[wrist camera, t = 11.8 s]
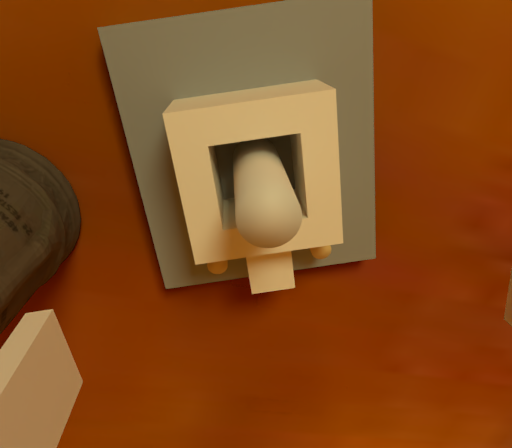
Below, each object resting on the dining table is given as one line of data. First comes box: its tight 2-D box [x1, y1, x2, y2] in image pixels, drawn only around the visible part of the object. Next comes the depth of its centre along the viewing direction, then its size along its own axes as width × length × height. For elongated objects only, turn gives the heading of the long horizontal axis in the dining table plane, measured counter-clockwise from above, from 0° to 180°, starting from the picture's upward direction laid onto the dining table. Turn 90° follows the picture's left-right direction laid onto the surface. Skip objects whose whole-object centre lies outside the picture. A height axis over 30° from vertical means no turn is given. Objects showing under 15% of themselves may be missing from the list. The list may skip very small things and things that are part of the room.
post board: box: [98, 0, 376, 289], centre depth 24 cm, size 18×16×12 cm
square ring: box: [162, 79, 343, 294], centre depth 27 cm, size 13×9×5 cm
